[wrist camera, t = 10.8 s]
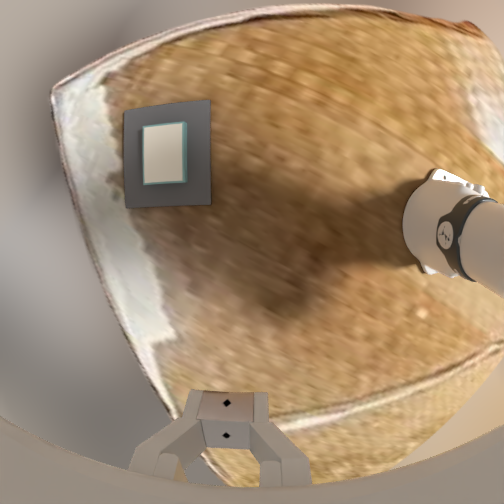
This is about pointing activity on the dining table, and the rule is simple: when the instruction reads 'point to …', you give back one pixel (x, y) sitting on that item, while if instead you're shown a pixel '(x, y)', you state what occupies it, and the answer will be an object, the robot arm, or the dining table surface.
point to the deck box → (165, 153)
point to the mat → (197, 155)
